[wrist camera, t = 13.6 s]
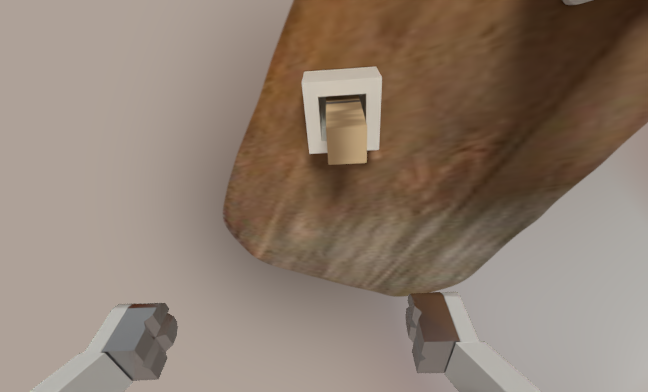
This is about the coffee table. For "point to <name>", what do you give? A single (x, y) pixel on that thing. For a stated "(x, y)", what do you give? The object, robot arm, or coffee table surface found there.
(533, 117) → the coffee table surface
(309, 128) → the socket board
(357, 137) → the oak peg
